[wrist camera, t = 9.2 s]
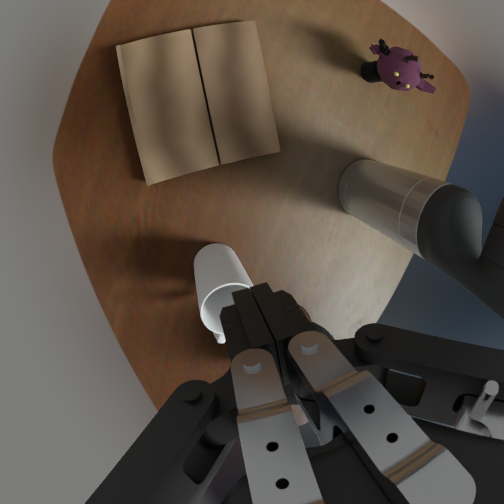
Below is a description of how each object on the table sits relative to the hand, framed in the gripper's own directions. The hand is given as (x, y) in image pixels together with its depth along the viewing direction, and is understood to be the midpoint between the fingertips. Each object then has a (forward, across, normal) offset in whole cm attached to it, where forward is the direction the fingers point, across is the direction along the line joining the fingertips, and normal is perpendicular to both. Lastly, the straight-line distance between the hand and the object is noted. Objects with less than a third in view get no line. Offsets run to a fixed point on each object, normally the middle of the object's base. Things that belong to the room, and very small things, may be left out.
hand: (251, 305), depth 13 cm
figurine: (+29, -28, -12) cm, 42 cm away
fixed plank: (+29, -7, -11) cm, 31 cm away
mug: (+29, +1, +13) cm, 32 cm away
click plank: (+28, +2, -11) cm, 30 cm away
